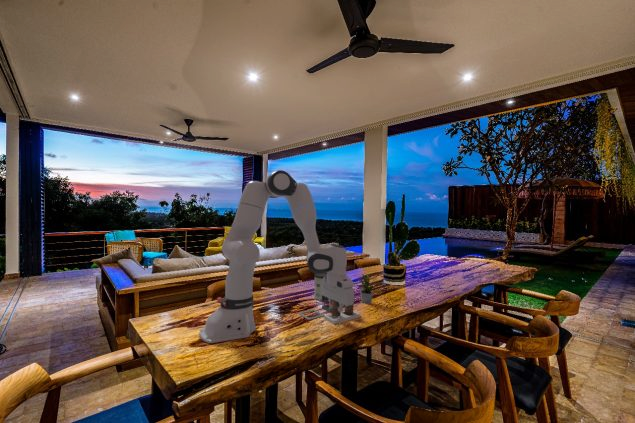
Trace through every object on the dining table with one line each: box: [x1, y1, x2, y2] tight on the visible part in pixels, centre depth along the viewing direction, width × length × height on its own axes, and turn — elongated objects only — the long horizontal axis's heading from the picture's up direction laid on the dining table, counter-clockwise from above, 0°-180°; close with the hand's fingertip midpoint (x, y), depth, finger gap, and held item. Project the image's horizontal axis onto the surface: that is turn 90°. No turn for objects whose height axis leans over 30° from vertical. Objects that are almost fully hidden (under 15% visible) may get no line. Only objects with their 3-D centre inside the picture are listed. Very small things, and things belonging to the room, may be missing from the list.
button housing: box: [321, 303, 332, 314], centre depth 150 cm, size 7×7×2 cm
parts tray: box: [298, 309, 326, 321], centre depth 141 cm, size 9×9×2 cm
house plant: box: [354, 273, 379, 306], centre depth 164 cm, size 14×14×16 cm
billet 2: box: [344, 304, 354, 316], centre depth 140 cm, size 4×4×7 cm
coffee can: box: [313, 272, 329, 302], centre depth 169 cm, size 10×10×14 cm
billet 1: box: [331, 300, 341, 317], centre depth 136 cm, size 4×4×7 cm
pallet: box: [323, 310, 361, 325], centre depth 138 cm, size 16×7×2 cm, turn 125°
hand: (336, 309), depth 136 cm, fingers closed on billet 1, 4 cm apart
